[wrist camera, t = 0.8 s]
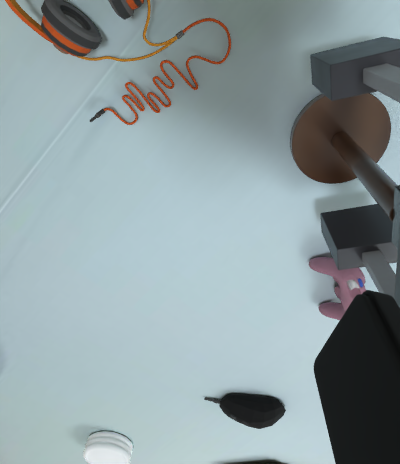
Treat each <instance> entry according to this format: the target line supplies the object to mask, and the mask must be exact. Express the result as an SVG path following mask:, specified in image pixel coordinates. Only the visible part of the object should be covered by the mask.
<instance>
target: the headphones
mask: <svg viewBox="0 0 400 464" xmlns="http://www.w3.org/2000/svg"><path fill="white" fill-rule="evenodd" d="M5 1H6V2H7V4H8V5H9V7H10V8H11V9H12V10H13V11H14V12H15V13H16V14H17V15H18V16H19V18H20V19H21V20H23V21H24V22H25V23H26V24H27V25H28V26H30V27H31V28H32V29H33V30H34V31H36V32H37V33H38V34H39V35H41V36H42V37H44V38H45V39H46V40H48V41H50V42H51V43H53V45H54V46H55V47H56V48H57V49H58V50H59V51H61V52H62V53H65V54H71V55H73V56H76V57H79V58H81V59H85V60H94V61H97V60H102V59H113V60H117V61H124V62H126V61H135V60H141V59H145V58H148V57H150V56H153V55H155V54H157V53H159V52H160V51H162V50H163V49H165V48H167V47H168V46H169V45H171V44H172V43H173V42H174V41H175V40H177V39H179V38H181V37H182V36H183V35H184V33H185V32H186V31H187V30H188V29H190V28H191V27H193V26H194V25H196V24H199V23H201V22H205V21H213V22H216V23H218V24H219V25H221V26H222V27H223V28H224V29H225V31H226V33H227V36H228V41H229V47H228V51H227V54H226V56H225V57H224V58H223V60H221V61H219V62H215V61H211V60H209V59H206V58H203V57H201V56H191V57H189V58H188V60H187V62H186V67H187V69H188V72H189V74H190V76H191V78H192V80H193V81H194V83H195V85H196V88H195V87H193V86H192V85H191V84H190V83H189V81H188V80H187V79H186V78H185V77H184V76H183V74H182V73H181V72H180V71H179V70H178V69H177V68H176V66H175V65H174V64H173V63H172V62H170V61H168V60H164V61H162V62H161V63H160V68H161V70H162V72H163V73H164V75H165V76H166V77H167V78H168V79H169V80H170V82H171V83H172V86H171V87H170V86H168V85H166V84H165V83H164V82H163V81H162V80H161V79H160V78H159V77H157V76H155V77H154V78H153V82H154V84H155V85H156V86H157V88H158V89H159V90H160V91H161V92H162V93H163V95H164V96H165V97H166V99H167V100H168V102H169V104H168V105H165V104H164V103H163V102H162V101H161V100H160V98H159V97H157V96H156V95H155V94H153V93H152V92H149V93H148V94H147V97H148V99H149V100H150V101H151V102H152V104H153V105H154V106H155V107H156V108H157V109H158V111H156V110H155V109H154V108H153V107H152V105H151V104H150V103H149V102H148V100H147V99H146V98H145V96H144V95H143V94H142V92H141V91H140V90H139V89H138V88H137V87H136V86H135V85H134V84H133V83H131V82H127V83H126V84H125V87H126V89H127V90H128V91H129V92H130V93H131V95H132V96H133V97H134V98H135V99H136V100H137V102H138V103H139V104H140V105H141V107H142V109H141V108H140V107H139V106H138V105H137V104H136V102H135V101H134V100H133V99H131V98H130V97H129V96H128V95H124V96H122V99H123V101H124V102H125V103H126V104H127V105H128V106H129V107H130V109H131V110H132V111H133V112H134V114H135V116H136V118H135V120H134V121H133V122H131V123H128V122H126V121H124V120H123V119H122V118H121V117H120V116H119V115H118V114H117V113H116V112H115V111H114V110H112V109H110V108H105V109H101V110H100V111H99V112H98V113H96V114H95V116H94V117H93V118H92V119H90V122H92V121H93V120H95V119H96V118H98V117H100V116H101V115H102V114H103V113H105V111H106V110H110V111H112V112H113V113H114V114H115V115H116V116H117V117H118V118H119V119H120V120H121V121H122V122H124V123H125V124H127V125H132V124H134V123H135V122H136V121H137V119H138V116H137V113H136V112H135V110H134V109H133V108H132V107H131V105H130V104H129V103H128V102H127V101H126V100H125V99H124V98H125V97H127V98H129V99H130V100H131V101H132V102H133V103H134V104H135V105H136V107H137V108H138V109H139V110H140V111H144V106H143V105H142V103H141V102H140V101H139V100H138V98H137V97H136V96H135V95H134V94H133V93H132V91H131V90H130V89H129V88H128V86H127V85H128V84H131V85H132V86H133V87H134V88H135V89H136V90H137V91H138V92H139V93H140V95H141V96H142V97H143V98H144V100H145V101H146V102H147V104H148V105H149V106H150V108H151V109H152V110H153V111H154V112H156V113H159V112H160V109H159V107H158V106H157V105H156V104H155V103H154V102H153V100H152V99H151V98H150V97H149V95H150V94H151V95H153V96H154V97H155V98H157V99H158V101H159V102H160V103H161V104H162V105H163V106H164V107H169V106H170V105H171V101H170V99H169V98H168V96H167V95H166V94H165V92H164V91H163V90H162V89H161V88H160V87H159V85H158V84H157V83H156V81H155V79H158V80H159V81H160V82H161V83H162V84H163V85H164V86H165V87H167V88H169V89H172V88H173V87H174V82H173V81H172V79H171V78H170V77H169V76H168V75H167V73H166V72H165V71H164V69H163V66H162V65H163V63H169V64H170V65H171V66H172V67H173V68H174V69H175V70H176V71H177V72H178V73H179V74H180V76H181V77H182V78H183V79H184V80H185V81H186V83H187V84H188V85H189V86H190V87H191V88H192V89H194V90H197V89H198V84H197V82H196V80H195V79H194V77H193V75H192V73H191V71H190V68H189V65H188V63H189V61H190V60H191V59H193V58H199V59H202V60H204V61H207V62H210V63H213V64H221V63H223V62H224V61H225V60H226V58H227V57H228V55H229V52H230V49H231V38H230V33H229V31H228V29H227V27H226V26H225V25H224V24H223V23H221V22H220V21H218V20H216V19H212V18H206V19H202V20H199V21H196V22H194V23H192V24H191V25H189V26H188V27H187V28H185V29H184V30H183V31H182V30H181V31H180V32H179V33H177V34H176V36H175V37H173V38H171V39H170V40H168V41H166V42H163V43H159V44H153V43H151V42H149V41H148V40H147V39H146V36H145V34H146V31H147V27H148V23H149V20H150V0H147V2H148V15H147V21H146V24H145V28H144V32H143V38H144V40H145V41H146V42H147V43H148V44H149V45H151V46H162V45H165V44H166V45H165V46H163V47H162V48H160V49H159V50H157V51H155V52H153V53H151V54H148V55H146V56H142V57H138V58H132V59H119V58H115V57H110V56H104V57H99V58H87V57H84V56H86V55H87V54H88V53H89V52H90V50H91V49H96V48H97V47H98V46H99V44H100V42H101V39H102V38H101V35H100V33H99V30H98V29H97V27H96V26H95V25H94V24H93V22H92V21H91V20H90V19H89V18H88V17H87V16H85V15H84V14H83V13H82V12H81V11H79V10H78V9H77V8H75V7H74V6H72V5H71V4H69V3H67V2H65V1H64V0H45V1H44V3H43V5H42V7H41V9H42V13H43V18H42V24H41V26H40V25H39V24H38V23H37V22H36V21H35V20H33V19H32V18H31V17H30V16H29V15H28V14H27V13H26V12H25V11H24V10H23V9H22V8H21V7H20V6H19V5H18V4H17V2H16V1H15V0H5ZM108 1H109V2H110V4H111V6H112V8H113V9H114V11H115V12H116V13H117V15H118V16H120V17H121V18H123V19H124V20H125V19H127V18H129V17H131V16H133V12H134V9H136V8H138V7H140V6H141V5H142V4H143V3H144V0H108Z"/></svg>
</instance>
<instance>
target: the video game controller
mask: <svg viewBox="0 0 400 464" xmlns="http://www.w3.org/2000/svg"><path fill="white" fill-rule="evenodd" d="M309 266H310V268H311V269H313V270H315V271H317V272H320V273H324V274H327V275H330V276H332V277H333V278H334V280H335V281H336V282H337V283H338V284H339V286H337V287H335V293H336V295H337V297H338V298H339V299H340V300H341V303H334V302H326V303H322V304H320V306H319V311H320V312H321V313H322V314H323V315H325V316H327V317H330V318H334V319H337V320H341V318H342V316H343V315H344V313H345V312H346V310H347V309H348V307H349V305H350V304H351V302H352V301H353V299H354V298H355V296H356V295H358V294H362V293H363V292H365V291H366V289H365V286H364V283H365V277H364V275H363V273H362V271H361V270H360V268H351V269H344V270H338V269H337V266H336V264H335V262H334V259H333V258H328V257H316V258H313V259H311V260H310V261H309Z"/></svg>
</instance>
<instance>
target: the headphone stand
mask: <svg viewBox="0 0 400 464" xmlns="http://www.w3.org/2000/svg"><path fill="white" fill-rule="evenodd" d="M390 133H391V122H390V117H389V114H388V112H387V110H386V108H385V106H384V105H383V104H382V102H381V101H380V100H378V99H377V98H376V97H375V96H373V95H371V94H370V93H367V94H362V95H358V96H353V97H349V98H344V99H339V100H335V101H331V100H330V99H329V98H328V97H326V96H325V95H324V94H321V95H319V96H318V97H316V98H315V99H313V100H312V101H311V102H310V103H308V104H307V105H306V106H305V107H304V109H303V110H302V111H301V112H300V114H299V115H298V117H297V119H296V121H295V123H294V125H293V128H292V132H291V138H290V147H291V152H292V155H293V158H294V160H295V162H296V164H297V166H298V167H299V169H300V170H301V171H302V172H303V173H304V174H305V175H307V176H308V177H309V178H311V179H313V180H316V181H318V182H322V183H329V184H336V183H343V182H347V181H350V180H353V179H355V178H357V177H358V179H359V180H360V181H361V183H362V184H363V185H364V186H365V188H366V189H367V190H368V192H369V193H370V194H371V196H372V197H373V198H374V199H375V201H376V202H377V203H378V205H379V206H380V207H381V208H382V210H383V211H384V212H385V214H386V215H387V216H388V217H389V219H390V220H391V221H392V222H393V226H392V243H393V244H394V245H395V247H396V248H397V250H398V240H399V225H400V185H397V184H396V183H395V182H394V181H393V180H392V179H391V178H390V177H389V176H388V175H387V174H386V173H385V172H384V171H383V170H382V169H381V168H380V167H379V166H378V165H377V164H376V163H377V162H378V161H379V159H380V158H381V157H382V155H383V154H384V152H385V150H386V148H387V145H388V143H389V139H390Z"/></svg>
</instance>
